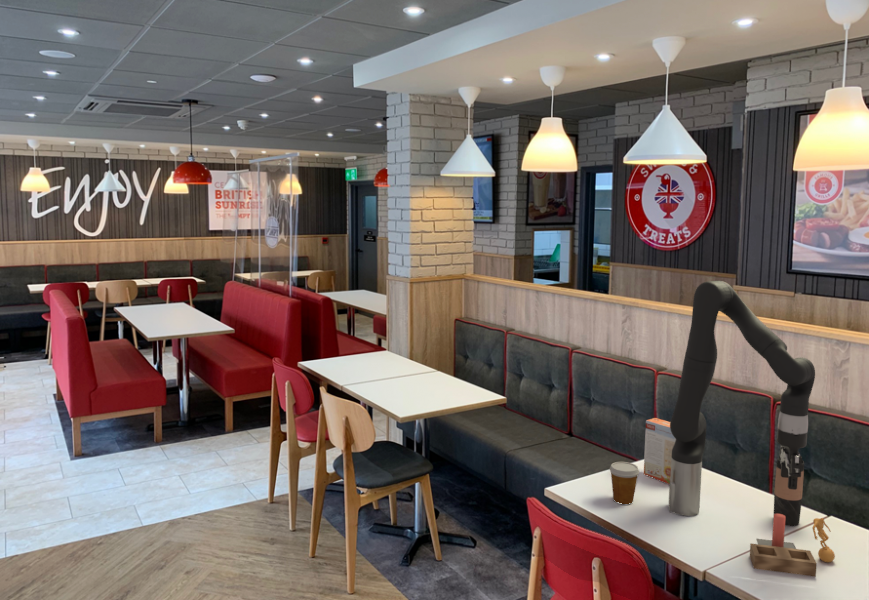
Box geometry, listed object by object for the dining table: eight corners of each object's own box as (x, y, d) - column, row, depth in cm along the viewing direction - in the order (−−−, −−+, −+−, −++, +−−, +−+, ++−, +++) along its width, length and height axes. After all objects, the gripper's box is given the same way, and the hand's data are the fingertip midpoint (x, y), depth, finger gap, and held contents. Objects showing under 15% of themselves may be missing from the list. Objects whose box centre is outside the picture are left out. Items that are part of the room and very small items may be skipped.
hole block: (753, 569, 185) (754, 555, 185) (749, 556, 192) (750, 543, 192) (815, 577, 181) (816, 563, 181) (809, 564, 188) (810, 550, 187)
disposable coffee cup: (626, 493, 235) (627, 459, 233) (644, 504, 226) (645, 469, 224) (602, 497, 231) (603, 463, 230) (619, 508, 222) (621, 473, 221)
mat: (760, 552, 194) (761, 551, 194) (756, 539, 202) (756, 538, 202) (799, 557, 192) (800, 556, 192) (793, 543, 199) (793, 542, 199)
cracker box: (686, 483, 243) (689, 426, 240) (675, 487, 239) (678, 429, 236) (653, 471, 254) (656, 416, 251) (642, 474, 251) (645, 419, 248)
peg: (772, 548, 196) (775, 517, 195) (770, 544, 199) (772, 512, 197) (784, 550, 195) (786, 518, 194) (782, 545, 198) (784, 514, 197)
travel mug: (803, 528, 209) (808, 465, 206) (776, 526, 210) (780, 463, 208) (795, 517, 216) (800, 456, 214) (769, 515, 218) (773, 454, 215)
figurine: (826, 569, 185) (829, 527, 184) (803, 560, 190) (806, 519, 189) (840, 559, 190) (843, 519, 189) (817, 551, 195) (821, 511, 194)
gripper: (772, 419, 201) (768, 472, 204) (784, 435, 188) (779, 491, 190) (800, 421, 200) (796, 474, 202) (814, 437, 186) (809, 494, 188)
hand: (788, 482), depth 196 cm, fingers open, 8 cm apart
